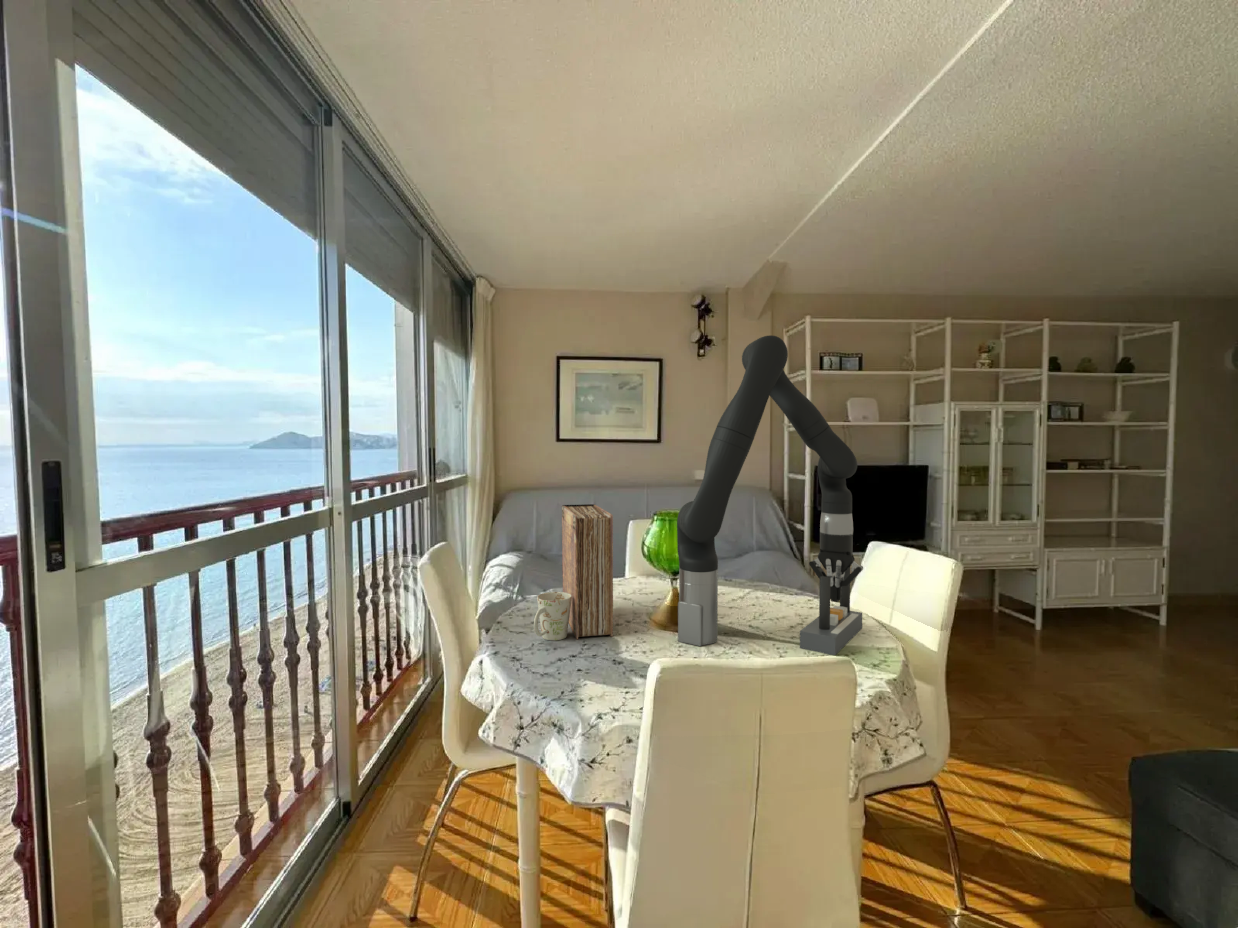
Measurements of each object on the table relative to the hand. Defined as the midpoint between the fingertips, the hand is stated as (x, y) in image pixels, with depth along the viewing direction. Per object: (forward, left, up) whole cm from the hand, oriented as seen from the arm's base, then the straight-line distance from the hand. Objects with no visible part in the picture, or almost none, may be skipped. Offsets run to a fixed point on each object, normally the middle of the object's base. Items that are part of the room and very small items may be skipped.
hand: (835, 601), depth 146 cm
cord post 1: (-8, 0, -4) cm, 10 cm away
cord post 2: (+9, 0, -4) cm, 10 cm away
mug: (-43, +55, -9) cm, 70 cm away
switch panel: (-2, 0, -8) cm, 9 cm away
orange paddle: (0, 0, -4) cm, 4 cm away
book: (-28, +56, -9) cm, 63 cm away
